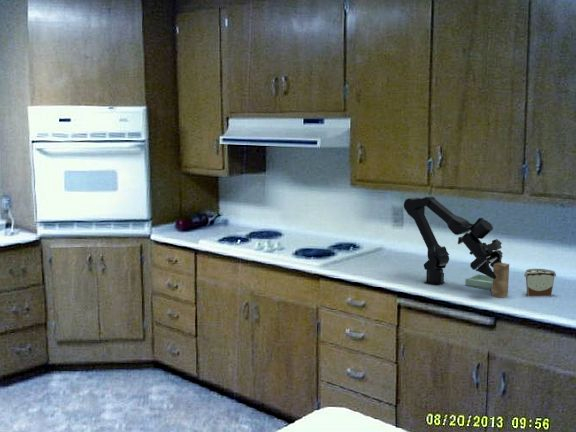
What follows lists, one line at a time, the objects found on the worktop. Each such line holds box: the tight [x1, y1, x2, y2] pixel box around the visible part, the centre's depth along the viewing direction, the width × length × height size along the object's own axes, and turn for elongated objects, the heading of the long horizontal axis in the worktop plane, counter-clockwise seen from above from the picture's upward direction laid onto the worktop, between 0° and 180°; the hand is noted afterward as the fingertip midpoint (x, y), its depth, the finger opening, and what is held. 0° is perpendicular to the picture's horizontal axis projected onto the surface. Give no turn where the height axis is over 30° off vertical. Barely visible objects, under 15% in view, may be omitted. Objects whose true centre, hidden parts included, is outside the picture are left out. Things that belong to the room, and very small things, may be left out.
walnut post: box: [491, 262, 510, 299], centre depth 256 cm, size 4×4×13 cm
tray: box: [464, 273, 493, 291], centre depth 273 cm, size 12×12×3 cm
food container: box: [523, 268, 557, 298], centre depth 258 cm, size 12×6×10 cm, turn 92°
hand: (500, 276), depth 256 cm, fingers open, 9 cm apart
